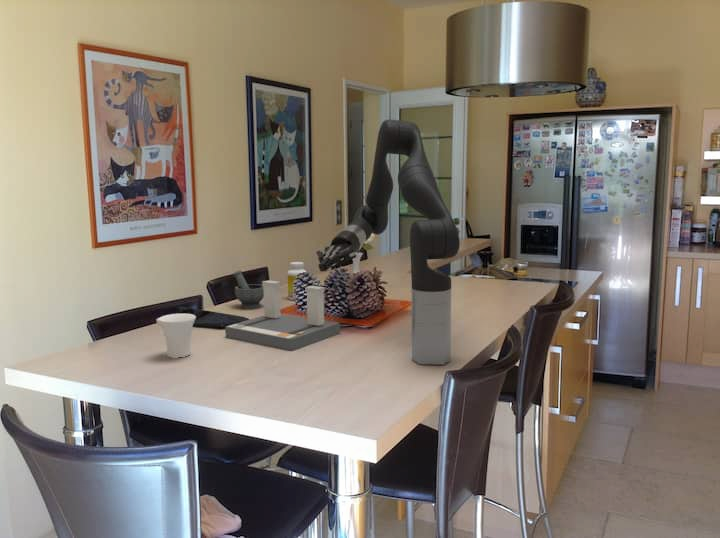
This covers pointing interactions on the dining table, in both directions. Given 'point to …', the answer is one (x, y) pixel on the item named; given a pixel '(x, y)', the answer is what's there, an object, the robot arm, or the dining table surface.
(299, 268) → the supplement bottle
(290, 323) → the grey flat block
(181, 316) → the cup
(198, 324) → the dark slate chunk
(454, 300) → the dining table surface
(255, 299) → the mortar and pestle
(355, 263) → the flower in vase
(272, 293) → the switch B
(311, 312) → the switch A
